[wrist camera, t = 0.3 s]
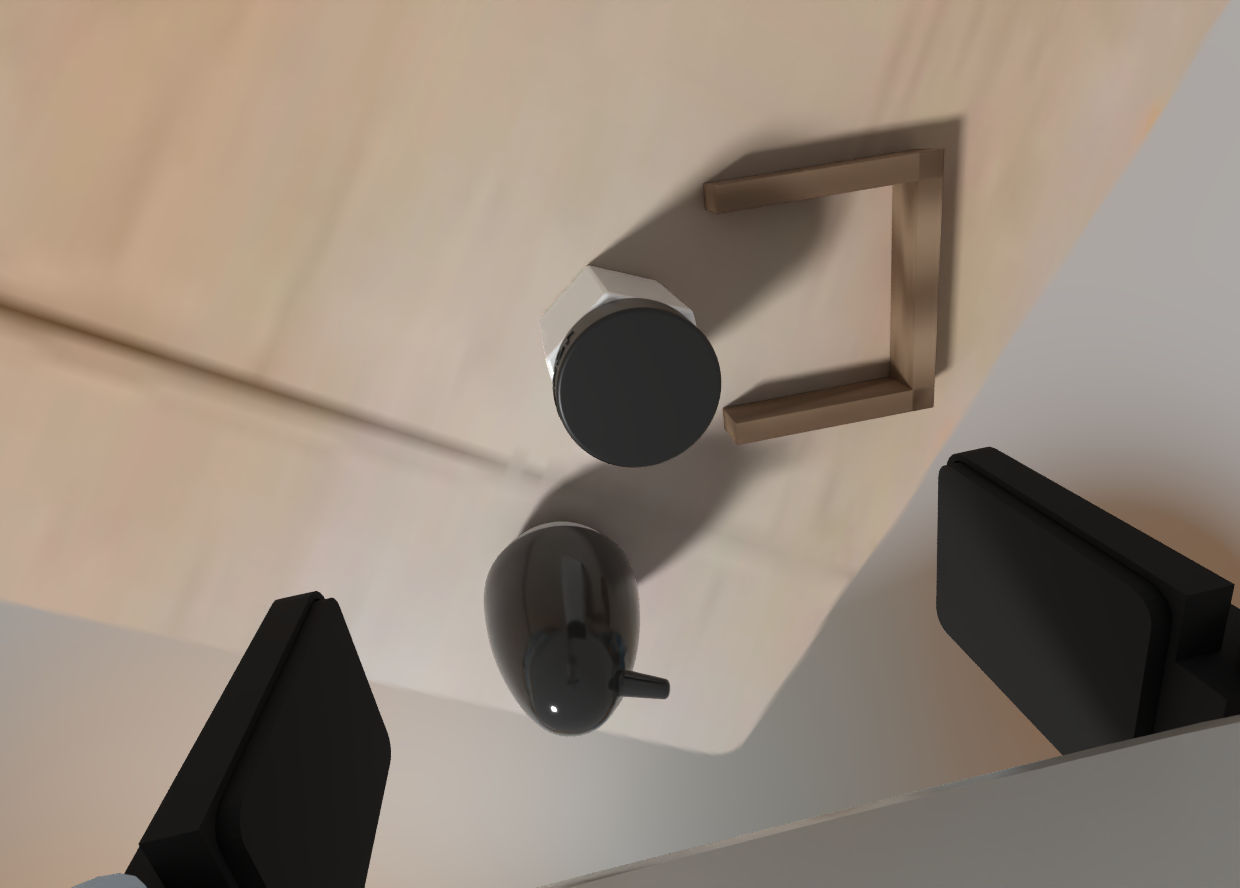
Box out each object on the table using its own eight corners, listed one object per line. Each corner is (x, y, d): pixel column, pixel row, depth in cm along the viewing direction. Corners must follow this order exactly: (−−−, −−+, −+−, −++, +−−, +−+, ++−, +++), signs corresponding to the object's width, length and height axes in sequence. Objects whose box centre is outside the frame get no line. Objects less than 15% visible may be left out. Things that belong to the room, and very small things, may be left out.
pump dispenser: (632, 612, 53) (676, 776, 39) (493, 629, 52) (488, 804, 38) (627, 492, 49) (675, 626, 35) (477, 507, 48) (464, 652, 34)
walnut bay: (703, 183, 42) (716, 185, 39) (916, 149, 43) (944, 148, 40) (724, 428, 48) (737, 444, 45) (909, 393, 49) (933, 407, 46)
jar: (522, 286, 42) (527, 331, 31) (649, 244, 43) (698, 275, 32) (568, 416, 46) (587, 497, 35) (685, 377, 46) (740, 446, 35)
